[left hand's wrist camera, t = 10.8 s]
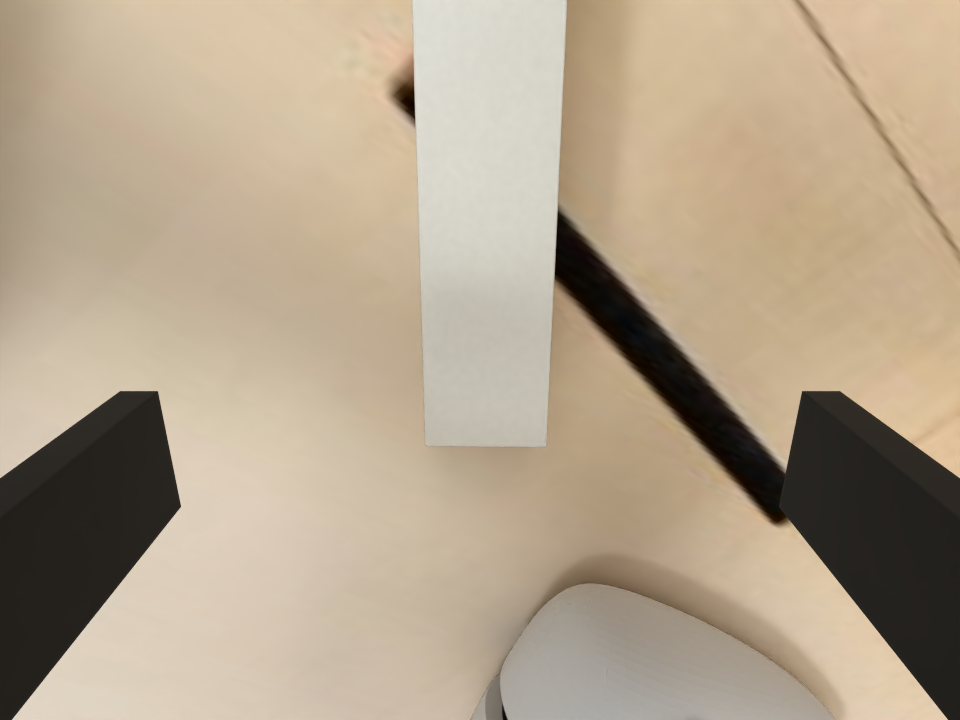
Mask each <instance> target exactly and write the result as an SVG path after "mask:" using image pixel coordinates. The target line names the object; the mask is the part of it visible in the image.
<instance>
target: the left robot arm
mask: <svg viewBox="0 0 960 720" xmlns="http://www.w3.org/2000/svg"><path fill="white" fill-rule="evenodd" d="M180 507H181V504H180V499H179V494H178V489H177V484H176V480H175V475H174V470H173V465H172V460H171V455H170V450H169V445H168V440H167V435H166V430H165V425H164V420H163V415H162V410H161V405H160V400H159V395H158V391H120V392H119V393H117V394H116V395H114V396H113V397H112V398H110V399H109V400H107V401H106V402H105V403H103V404H102V405H101V406H99V407H98V408H96V409H95V410H94V411H92V412H91V413H90V414H88V415H87V416H85V417H84V418H83V419H81V420H80V421H79V422H77V423H76V424H74V425H73V426H72V427H70V428H69V429H68V430H66V431H65V432H63V433H62V434H61V435H59V436H58V437H57V438H55V439H54V440H52V441H51V442H50V443H48V444H47V445H46V446H44V447H43V448H41V449H40V450H39V451H37V452H36V453H35V454H33V455H32V456H30V457H29V458H28V459H26V460H25V461H23V462H22V463H21V464H19V465H18V466H17V467H15V468H14V469H12V470H11V471H10V472H8V473H7V474H6V475H4V476H3V477H1V478H0V720H12V719H13V718H14V716H15V715H16V714H17V713H18V711H19V710H20V709H21V708H22V706H23V705H24V704H25V702H26V701H27V700H28V699H29V697H30V696H31V695H32V694H33V692H34V691H35V690H36V689H37V687H38V686H39V685H40V684H41V682H42V681H43V680H44V679H45V677H46V676H47V675H48V674H49V672H50V671H51V670H52V668H53V667H54V666H55V665H56V663H57V662H58V661H59V660H60V658H61V657H62V656H63V655H64V653H65V652H66V651H67V650H68V648H69V647H70V646H71V645H72V643H73V642H74V641H75V640H76V638H77V637H78V636H79V634H80V633H81V632H82V631H83V629H84V628H85V627H86V626H87V624H88V623H89V622H90V621H91V619H92V618H93V617H94V616H95V614H96V613H97V612H98V611H99V609H100V608H101V607H102V606H103V604H104V603H105V602H106V600H107V599H108V598H109V597H110V595H111V594H112V593H113V592H114V590H115V589H116V588H117V587H118V585H119V584H120V583H121V582H122V580H123V579H124V578H125V577H126V575H127V574H128V573H129V571H130V570H131V569H132V568H133V566H134V565H135V564H136V563H137V561H138V560H139V559H140V558H141V556H142V555H143V554H144V553H145V551H146V550H147V549H148V548H149V546H150V545H151V544H152V543H153V541H154V540H155V539H156V537H157V536H158V535H159V534H160V532H161V531H162V530H163V529H164V527H165V526H166V525H167V524H168V522H169V521H170V520H171V519H172V517H173V516H174V515H175V514H176V512H177V511H178V510H179V509H180ZM779 507H780V509H781V510H782V511H783V512H784V514H785V515H786V516H787V517H788V519H789V520H790V521H791V522H792V524H793V525H794V526H795V527H796V529H797V530H798V531H799V532H800V534H801V535H802V536H803V537H804V539H805V540H806V541H807V543H808V544H809V545H810V546H811V548H812V549H813V550H814V551H815V553H816V554H817V555H818V556H819V558H820V559H821V560H822V561H823V563H824V564H825V565H826V566H827V568H828V569H829V570H830V571H831V573H832V574H833V575H834V577H835V578H836V579H837V580H838V582H839V583H840V584H841V585H842V587H843V588H844V589H845V590H846V592H847V593H848V594H849V595H850V597H851V598H852V599H853V600H854V602H855V603H856V604H857V606H858V607H859V608H860V609H861V611H862V612H863V613H864V614H865V616H866V617H867V618H868V619H869V621H870V622H871V623H872V624H873V626H874V627H875V628H876V629H877V631H878V632H879V633H880V634H881V636H882V637H883V638H884V640H885V641H886V642H887V643H888V645H889V646H890V647H891V648H892V650H893V651H894V652H895V653H896V655H897V656H898V657H899V658H900V660H901V661H902V662H903V663H904V665H905V666H906V667H907V668H908V670H909V671H910V672H911V674H912V675H913V676H914V677H915V679H916V680H917V681H918V682H919V684H920V685H921V686H922V687H923V689H924V690H925V691H926V692H927V694H928V695H929V696H930V697H931V699H932V700H933V701H934V703H935V704H936V705H937V706H938V708H939V709H940V710H941V711H942V713H943V714H944V715H945V716H946V718H947V719H948V720H960V478H959V477H957V476H956V475H954V474H953V473H952V472H950V471H949V470H948V469H946V468H945V467H943V466H942V465H941V464H939V463H938V462H937V461H935V460H934V459H932V458H931V457H930V456H928V455H927V454H925V453H924V452H923V451H921V450H920V449H919V448H917V447H916V446H914V445H913V444H912V443H910V442H909V441H908V440H906V439H905V438H903V437H902V436H901V435H899V434H898V433H897V432H895V431H894V430H892V429H891V428H890V427H888V426H887V425H886V424H884V423H883V422H881V421H880V420H879V419H877V418H876V417H875V416H873V415H872V414H870V413H869V412H868V411H866V410H865V409H864V408H862V407H861V406H859V405H858V404H857V403H855V402H854V401H853V400H851V399H850V398H848V397H847V396H846V395H844V394H843V393H841V392H840V391H802V395H801V400H800V405H799V410H798V415H797V420H796V425H795V430H794V435H793V440H792V445H791V450H790V455H789V460H788V465H787V470H786V475H785V480H784V484H783V489H782V494H781V499H780V504H779Z"/></svg>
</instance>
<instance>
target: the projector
mask: <svg viewBox="0 0 960 720" xmlns="http://www.w3.org/2000/svg"><path fill="white" fill-rule="evenodd" d="M470 720H835V719H834V717H833V716H832V714H831V713H830V712H829V710H828V709H827V708H826V707H825V706H824V705H823V704H822V703H821V701H820V700H819V699H818V698H816V697H815V696H814V695H813V694H812V693H811V692H810V691H809V690H808V689H807V688H806V687H805V686H804V685H802V684H801V683H800V682H799V681H797V680H796V679H795V678H794V677H793V676H791V675H790V674H789V673H787V672H786V671H785V670H783V669H782V668H781V667H779V666H778V665H777V664H775V663H774V662H772V661H771V660H769V659H768V658H767V657H765V656H764V655H762V654H761V653H759V652H757V651H756V650H754V649H752V648H751V647H749V646H748V645H746V644H744V643H743V642H741V641H739V640H737V639H736V638H734V637H732V636H730V635H728V634H727V633H725V632H723V631H721V630H719V629H717V628H715V627H713V626H711V625H709V624H707V623H705V622H703V621H701V620H699V619H697V618H695V617H693V616H691V615H688V614H686V613H684V612H682V611H680V610H677V609H675V608H673V607H670V606H668V605H665V604H663V603H660V602H658V601H656V600H653V599H651V598H648V597H645V596H642V595H640V594H637V593H634V592H631V591H628V590H624V589H621V588H617V587H614V586H609V585H603V584H596V583H587V584H578V585H575V586H572V587H569V588H567V589H565V590H563V591H562V592H560V593H559V594H557V595H556V596H555V597H553V598H552V599H551V600H549V601H548V602H547V603H546V604H545V605H544V606H543V607H542V608H541V609H540V610H539V611H538V613H537V614H536V615H535V616H534V617H533V619H532V620H531V621H530V623H529V624H528V625H527V627H526V628H525V630H524V631H523V633H522V634H521V636H520V637H519V639H518V640H517V642H516V643H515V645H514V646H513V648H512V649H511V651H510V652H509V654H508V656H507V657H506V659H505V661H504V663H503V666H502V669H501V673H500V674H498V675H497V676H496V677H495V678H494V679H493V680H492V682H491V683H490V685H489V687H488V688H487V690H486V692H485V693H484V695H483V697H482V698H481V700H480V702H479V704H478V705H477V707H476V709H475V711H474V713H473V715H472V717H471V719H470Z"/></svg>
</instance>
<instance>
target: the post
mask: <svg viewBox="0 0 960 720" xmlns="http://www.w3.org/2000/svg"><path fill="white" fill-rule="evenodd" d="M412 19H413V53H414V87H415V121H416V154H417V188H418V222H419V255H420V289H421V323H422V356H423V390H424V424H425V445H426V446H470V447H546V444H547V422H548V401H549V380H550V359H551V338H552V317H553V295H554V274H555V253H556V232H557V211H558V190H559V169H560V147H561V126H562V105H563V84H564V63H565V42H566V20H567V0H412Z"/></svg>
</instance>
